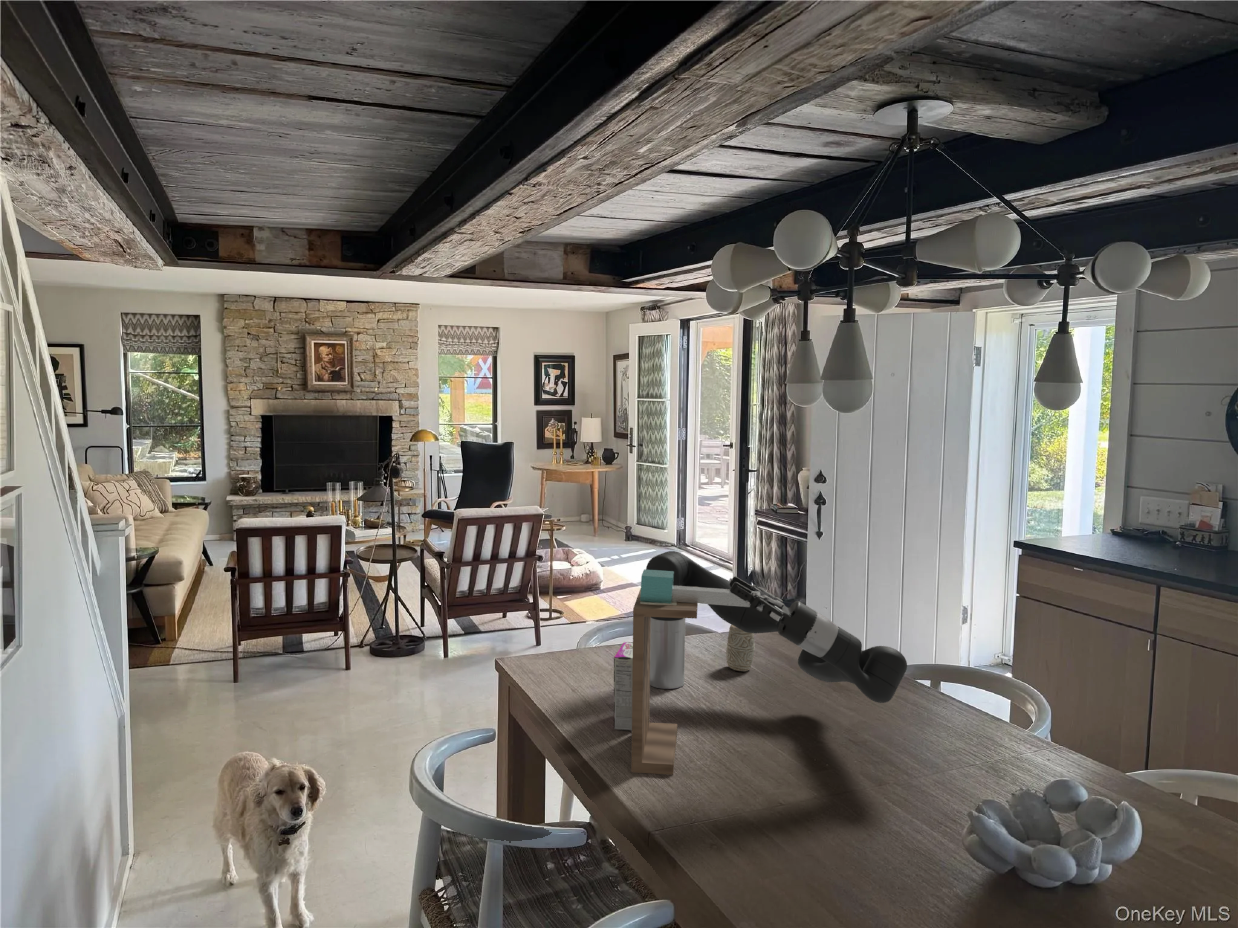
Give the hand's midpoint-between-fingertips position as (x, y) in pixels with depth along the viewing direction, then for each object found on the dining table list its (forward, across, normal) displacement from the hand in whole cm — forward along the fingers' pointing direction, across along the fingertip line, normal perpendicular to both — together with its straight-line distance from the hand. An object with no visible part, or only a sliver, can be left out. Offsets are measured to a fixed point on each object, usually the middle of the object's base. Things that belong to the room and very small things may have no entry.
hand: (732, 583), depth 161 cm
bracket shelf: (-7, -3, +37) cm, 38 cm away
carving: (-22, -58, +29) cm, 68 cm away
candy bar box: (+1, -18, +42) cm, 46 cm away
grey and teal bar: (+3, 0, +6) cm, 7 cm away
